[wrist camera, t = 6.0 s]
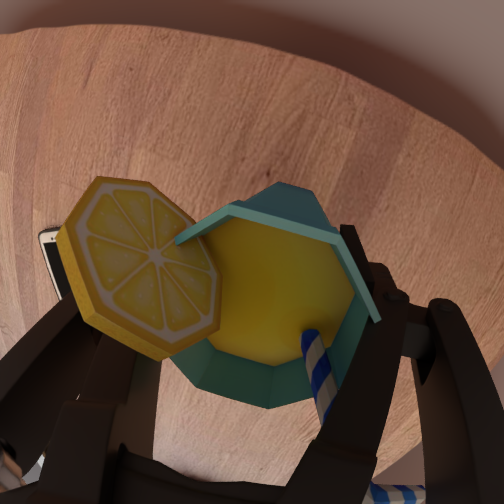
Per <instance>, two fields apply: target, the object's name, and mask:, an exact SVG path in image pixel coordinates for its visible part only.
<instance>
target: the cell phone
mask: <svg viewBox="0 0 504 504" xmlns="http://www.w3.org/2000/svg"><path fill="white" fill-rule="evenodd" d="M60 228H61V227H58V228H52V229H46V230H43V231H41V232H40V233H39V235H38V239H39V243H40V246H41V250H42V253H43V256H44V259H46V260H45V262H47V263H46V266H47V269H48V272H49V274H50V277H51V280H52V283H53V286H54V288H55V291H56V294H57V296H58V299H59V301H60V300H61V299H62V298H63V297H65V296H66V295H67V294H68V293H69V292H70V291H71V290H72V289H71V286H70V283H69V281H68V278H67V275H66V272H65V269H64V266H63V263H62V260H61V256H60V253H59V250H58V246H57V243H56V240H55V236H56V235H57V233H58V231H59V230H60ZM90 326H91V325H90Z"/></svg>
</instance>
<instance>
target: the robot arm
mask: <svg viewBox="0 0 504 504" xmlns="http://www.w3.org/2000/svg"><path fill="white" fill-rule="evenodd" d="M340 235H341V236H342V238H343V240H344V242H345V244H346V246H347V248H348V250H349V252H350V254H351V256H352V258H353V260H354V262H355V264H356V266H357V268H358V270H359V272H360V274H361V276H362V278H363V280H364V282H365V284H366V287H367V289H368V291H369V293H370V295H371V297H372V299H373V302H374V304H375V306H376V308H377V310H378V313H379V315H380V317H381V319H382V320H380V321H378V322H376V323H374V321H373V320H372V318H371V316H370V315H368V318H367V321H366V324H365V327H364V329H363V332H362V335H361V338H360V340H359V343H358V345H357V348H356V351H355V353H354V356H353V358H352V361H351V363H350V365H349V368H348V370H347V373H346V375H345V377H344V380H343V382H342V384H341V387H340V389H339V391H338V393H337V396H336V398H335V400H334V402H333V404H332V407H331V409H330V411H329V413H328V415H327V417H326V419H325V421H324V423H323V425H322V427H321V429H320V431H319V433H318V435H317V437H316V438H315V440H314V439H313V440H312V441H311V443H310V444H309V446H308V448H307V450H306V451H305V453H304V455H303V457H302V459H301V460H300V462H299V464H298V466H297V467H296V469H295V471H294V473H293V474H292V476H291V478H290V479H289V481H288V483H287V484H286V486H276V485H267V484H259V483H252V482H245V481H237V482H198V481H194V480H192V479H190V478H188V477H186V476H184V475H182V474H180V473H179V472H177V471H175V470H173V469H171V468H169V467H168V466H166V465H164V464H162V463H161V462H159V461H155V460H153V442H154V430H155V419H156V409H157V399H158V390H159V382H160V373H161V365H162V360H161V361H159V362H158V361H156V360H154V359H152V358H150V357H148V356H146V355H144V354H142V353H140V352H138V351H136V350H134V349H132V348H130V347H128V346H126V345H125V344H123V343H121V342H119V341H117V340H115V339H114V338H112V337H110V336H108V335H107V334H105V333H103V332H101V331H100V330H98V329H96V328H94V327H93V326H90V325H89V324H88V323H86V322H84V320H83V317H82V315H81V313H80V310H79V308H78V305H77V302H76V300H75V297H74V294H73V292H72V290H71V291H70V292H69V293H68V294H67V295H66V296H65V297H63V298H62V299H61V300H60V301H59V302H58V303H57V304H56V305H55V306H54V307H53V308H52V309H51V310H50V311H49V312H47V313H46V314H45V315H44V316H43V317H42V318H41V319H40V320H39V321H38V322H37V323H36V324H35V325H34V326H33V327H32V328H31V329H30V330H29V331H28V332H27V333H26V334H25V335H24V336H23V337H22V338H21V339H20V340H19V341H18V342H17V343H16V344H15V345H14V346H13V347H12V348H11V350H10V351H9V352H8V353H7V354H6V355H5V356H4V357H3V358H2V359H1V360H0V504H362V502H363V500H364V497H365V495H366V492H367V490H368V487H369V484H370V482H371V479H372V476H373V473H374V470H375V467H376V464H377V458H378V457H376V453H377V450H378V447H379V443H380V440H381V437H382V433H383V430H384V427H385V423H386V419H387V416H388V412H389V408H390V404H391V400H392V396H393V392H394V388H395V383H396V379H397V374H398V369H399V364H400V359H401V356H405V357H409V358H411V365H412V370H413V376H414V382H415V388H416V394H417V401H418V408H419V416H420V424H421V433H422V443H423V455H424V467H425V468H424V469H425V496H426V504H504V410H503V407H502V404H501V401H500V398H499V395H498V393H497V390H496V387H495V385H494V382H493V380H492V377H491V375H490V372H489V370H488V367H487V365H486V363H485V360H484V358H483V356H482V353H481V351H480V349H479V347H478V344H477V342H476V340H475V338H474V336H473V334H472V332H471V330H470V328H469V325H468V323H467V321H466V319H465V317H464V316H463V314H462V312H461V310H460V308H459V307H458V305H457V304H455V303H454V302H452V301H451V300H448V299H443V298H435V299H432V300H431V301H430V302H429V305H428V308H426V307H421V306H417V305H414V304H411V303H409V300H410V299H409V296H408V295H407V294H406V293H405V292H403V291H402V290H399V289H397V287H396V285H395V282H394V280H393V279H392V276H391V274H390V272H389V269H388V268H387V267H386V266H385V265H383V264H382V263H374V262H368V260H367V258H366V255H365V252H364V250H363V247H362V244H361V242H360V239H359V237H358V234H357V232H356V229H355V226H354V225H343V224H340ZM79 394H80V395H79ZM78 396H79V398H78V399H77V397H78ZM76 399H77V400H76ZM48 443H49V446H48V449H47V452H46V456H45V459H44V463H43V466H42V470H41V473H40V477H39V480H38V481H36V482H33V483H30V484H26V483H25V481H24V480H23V479H22V477H23V476H24V475H25V474H27V472H29V471H30V469H31V468H32V467H33V466H34V465H35V463H36V462H37V461H38V459H39V458H40V456H41V455H42V453H43V452H44V450H45V448H46V447H47V445H48Z"/></svg>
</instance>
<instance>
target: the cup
mask: <svg viewBox="0 0 504 504" xmlns="http://www.w3.org/2000/svg"><path fill="white" fill-rule="evenodd" d="M55 240H56V243H57V246H58V250H59V253H60V256H61V260H62V263H63V266H64V269H65V272H66V275H67V278H68V281H69V283H70V286H71V289H72V292H73V294H74V297H75V300H76V302H77V305H78V308H79V310H80V313H81V315H82V317H83V320H84V322H86V323H88V324H89V325H91V326H93V327H94V328H96V329H98V330H100V331H101V332H103V333H105V334H107V335H108V336H110V337H112V338H114V339H115V340H117V341H119V342H121V343H123V344H125V345H126V346H128V347H130V348H132V349H134V350H136V351H138V352H140V353H142V354H144V355H146V356H148V357H150V358H152V359H154V360H156V361H158V362H159V361H161V360H164V359H166V358H168V357H169V358H170V359H171V360H172V361H173V362H174V364H175V365H176V366H177V367H178V368H179V369H180V370H181V372H182V373H183V374H184V375H185V376H186V377H187V378H188V379H189V380H190V382H191V383H192V384H193V385H194V386H195V387H196V388H199V389H202V390H205V391H208V392H211V393H214V394H217V395H220V396H223V397H227V398H230V399H233V400H237V401H240V402H244V403H247V404H251V405H254V406H258V407H262V408H266V409H272V408H276V407H280V406H284V405H287V404H291V403H295V402H298V401H302V400H305V399H309V398H312V397H314V400H315V404H316V408H317V412H318V416H319V420H320V424H321V427H322V425H323V423H324V421H325V419H326V417H327V415H328V413H329V411H330V409H331V407H332V404H333V402H334V400H335V398H336V396H337V393H338V391H339V389H340V387H341V384H342V382H343V380H344V377H345V375H346V373H347V370H348V368H349V365H350V363H351V361H352V358H353V356H354V353H355V351H356V348H357V345H358V343H359V340H360V338H361V335H362V332H363V329H364V327H365V324H366V321H367V318H368V315H370V316H371V318H372V320H373V321H374V323H376V322H378V321H380V320H382V319H381V317H380V315H379V313H378V310H377V308H376V306H375V304H374V302H373V299H372V297H371V295H370V293H369V291H368V289H367V287H366V284H365V282H364V280H363V278H362V276H361V274H360V272H359V270H358V268H357V266H356V264H355V262H354V260H353V258H352V256H351V254H350V252H349V250H348V248H347V246H346V244H345V242H344V240H343V238H342V236H341V235H340V233H339V232H338V230H337V229H336V227H333V226H331V224H330V222H329V220H328V218H327V217H326V215H325V213H324V211H323V209H322V207H321V206H320V204H319V202H318V200H317V198H316V197H315V195H314V193H313V191H311V190H307V189H304V188H300V187H297V186H293V185H290V184H286V183H282V182H279V181H278V182H277V183H275V184H273V185H271V186H270V187H268V188H266V189H264V190H263V191H261V192H259V193H257V194H256V195H254V196H252V197H251V198H249V199H247V200H246V201H240V200H237V201H234V202H232V203H229V204H227V205H226V206H224V207H222V208H221V209H219V210H217V211H216V212H214V213H212V214H211V215H209V216H208V217H206V218H204V219H203V220H201V221H199V222H198V223H196V222H195V220H194V219H192V218H191V217H190V216H189V215H188V214H186V213H185V212H184V211H183V210H182V209H181V208H179V207H178V206H177V205H176V204H175V203H173V202H172V201H171V200H170V199H169V198H167V197H166V196H165V195H164V194H163V193H162V192H160V191H159V190H158V189H157V188H156V187H155V186H153V185H152V184H151V183H150V182H146V181H138V180H130V179H121V178H112V177H102V176H97V177H96V178H95V179H94V180H93V182H92V183H91V184H90V186H89V187H88V188H87V190H86V191H85V192H84V194H83V195H82V197H81V198H80V199H79V201H78V202H77V204H76V205H75V207H74V208H73V210H72V211H71V213H70V214H69V216H68V217H67V219H66V220H65V222H64V224H63V225H62V227H61V228H60V230H59V231H58V233H57V235H56V236H55ZM425 499H426V496H425V488H424V487H423V486H422V485H381V484H374V483H373V482H372V481H371V482H370V484H369V487H368V490H367V492H366V495H365V497H364V500H363V502H362V504H420V503H421V502H422V501H424V500H425Z"/></svg>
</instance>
